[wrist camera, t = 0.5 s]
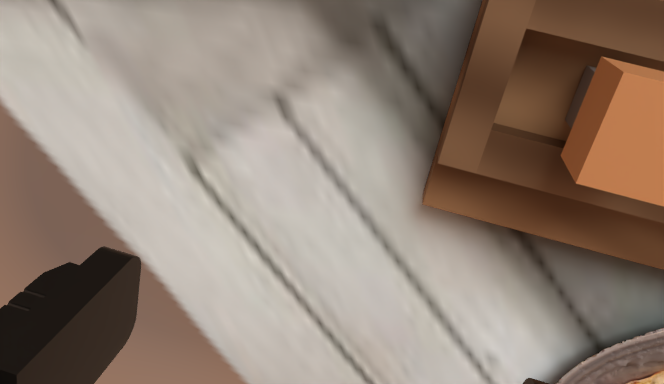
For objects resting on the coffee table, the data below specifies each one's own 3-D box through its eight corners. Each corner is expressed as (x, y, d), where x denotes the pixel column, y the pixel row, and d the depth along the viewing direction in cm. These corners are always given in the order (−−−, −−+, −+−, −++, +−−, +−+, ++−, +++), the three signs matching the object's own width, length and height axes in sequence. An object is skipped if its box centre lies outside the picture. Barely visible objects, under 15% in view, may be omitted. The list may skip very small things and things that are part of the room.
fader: (583, 44, 27) (623, 71, 21) (668, 64, 27) (734, 99, 21) (548, 133, 29) (575, 183, 23) (627, 154, 29) (676, 209, 23)
